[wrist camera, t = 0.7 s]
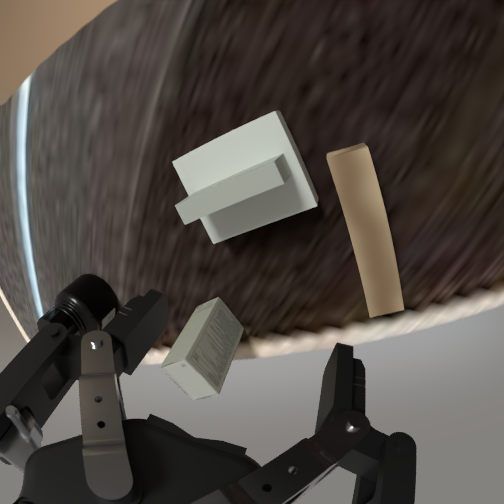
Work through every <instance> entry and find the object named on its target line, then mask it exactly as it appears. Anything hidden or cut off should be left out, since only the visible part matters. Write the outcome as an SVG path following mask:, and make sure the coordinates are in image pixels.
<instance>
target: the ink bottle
mask: <svg viewBox="0 0 504 504" xmlns="http://www.w3.org/2000/svg"><path fill="white" fill-rule="evenodd" d="M117 311H118V305H117V301H116V298H115V296H114V294H113V292H112V290H111V289H110V287H109V286H108V285H107V284H106V283H105V282H104V281H103V280H102V279H101V278H99V277H97V276H95V275H92V274H84V275H81V276H80V277H79V278H77V279H76V280H75V281H74V282H72V283H71V284H70V285H69V286H67V287H66V288H65V289H64V290H62V291H61V292H60V293H59V294H58V295H57V297H56V299H55V307H53V308H52V309H50V310H49V311H48V312H47V313H46V314H44V315H43V316H42V317H41V318H40V319H39V321H38V322H37V325H38V330H39V331H40V330H41V329H42V328H43V327H44V326H46V325H48V324H50V323H60V324H62V325H64V326H65V327H66V329H67V332H68V334H72V335H78V336H84V335H85V334H87V333H88V332H91V331H95V330H100V331H101V330H102V329H103V328H104V327H105V326H106V325H107V324H108V323H109V322H110V321H111V320H112V318H113V317H114V316H115V315H116V314H117Z"/></svg>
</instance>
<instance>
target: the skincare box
mask: <svg viewBox="0 0 504 504" xmlns="http://www.w3.org/2000/svg"><path fill="white" fill-rule="evenodd" d="M243 331H244V328H243V327H242V325H241V324H240V323H239V321H238V320H237V319H236V317H235V316H234V315H233V314H232V312H231V311H230V310H229V308H228V307H227V306H226V305H225V303H224V302H223V301H222V300H221V298H220V297H217V298H215V299H213V300H210V301H208V302H206V303H204V304H202V305H200V306H198V307H197V308H196V309H195V311H194V313H193V314H192V316H191V317H190V319H189V321H188V322H187V324H186V326H185V327H184V329H183V330H182V332H181V334H180V335H179V337H178V339H177V340H176V342H175V343H174V345H173V347H172V348H171V350H170V352H169V353H168V355H167V357H166V358H165V360H164V362H163V364H162V365H161V369H162V370H163V371H164V372H165V373H166V374H167V375H168V376H169V378H170V379H171V380H172V381H173V382H174V383H175V384H176V385H177V386H179V387H180V388H181V389H182V390H183V391H184V392H185V393H186V394H187V395H188V396H189V397H190V398H191V399H192V400H198V399H204V398H209V397H213V396H218V395H219V393H220V391H221V388H222V385H223V382H224V380H225V378H226V375H227V372H228V370H229V367H230V365H231V362H232V360H233V357H234V354H235V352H236V349H237V347H238V344H239V341H240V339H241V336H242V333H243Z"/></svg>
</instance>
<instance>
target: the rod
mask: <svg viewBox="0 0 504 504" xmlns="http://www.w3.org/2000/svg"><path fill="white" fill-rule="evenodd" d="M327 161H328V164H329V167H330V170H331V173H332V176H333V180H334V183H335V186H336V189H337V192H338V196H339V199H340V202H341V205H342V209H343V212H344V216H345V219H346V223H347V226H348V230H349V233H350V237H351V241H352V244H353V248H354V252H355V256H356V260H357V263H358V267H359V271H360V276H361V280H362V284H363V288H364V292H365V297H366V301H367V306H368V310H369V315H370V318H371V317H375V316H380V315H384V314H388V313H393V312H397V311H401V310H404V306H403V299H402V293H401V286H400V280H399V274H398V269H397V263H396V258H395V253H394V248H393V243H392V238H391V233H390V229H389V224H388V220H387V215H386V211H385V207H384V203H383V199H382V195H381V191H380V187H379V184H378V180H377V176H376V173H375V169H374V166H373V162H372V159H371V156H370V152H369V149H368V147H367V146H366V145H365V144H364V143H362V144H358V145H355V146H351V147H348V148H344V149H341V150H337V151H334V152H330V153H327Z"/></svg>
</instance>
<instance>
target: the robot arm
mask: <svg viewBox="0 0 504 504" xmlns="http://www.w3.org/2000/svg"><path fill="white" fill-rule="evenodd" d="M167 321H168V295H167V294H166V293H164V292H161V291H158V290H155V289H151V290H150V291H149V292H148V293H147V294H146V295H145V296H144V297H143V296H140V295H139V296H137V297H135V298H133V299H131V300H130V301H129V302H128V303H127V304H126V305H125V306H124V308H122V309H121V310H120V311H119V313H117V314H116V315H115V316H114V317H113V318H112V320H111V321H110V322H109V323H108V324H107V325H106V326H105V327H104V328H103V329H102V330H101V331H100V330H95V331H91V332H88V333H87V334H85V335H84V336H78V335H72V334H68V332H67V329H66V327H65V326H64V325H62V324H60V323H50V324H48V325H46V326H44V327H43V328H42V329H41V330H40V331H39V332H38V333H37V334H36V335H35V336H34V337H33V338H32V339H31V341H30V342H29V343H28V344H27V345H26V346H25V347H24V348H23V349H22V350H21V351H20V352H19V353H18V355H16V357H15V358H14V359H13V360H12V361H11V362H10V363H9V364H8V365H7V367H6V368H5V369H4V370H3V371H2V372H1V373H0V460H1V461H2V462H4V463H5V464H9V465H13V466H15V467H16V468H18V469H19V470H20V471H21V472H23V473H24V480H23V486H22V490H21V493H20V495H19V498H18V499H17V500H16V501H15V502H14V503H13V504H293V503H294V502H296V501H297V500H298V499H300V498H301V497H302V496H303V495H305V494H306V493H307V492H308V491H309V490H310V489H312V488H313V487H314V486H315V485H317V484H318V483H319V482H320V481H322V480H323V479H324V478H325V477H326V476H328V475H329V474H330V473H331V472H332V471H333V470H335V469H336V468H337V467H338V466H340V467H342V468H344V469H346V470H348V471H350V472H352V473H354V474H357V478H356V483H355V489H354V494H353V500H352V504H414V501H415V484H416V444H415V441H414V440H413V438H412V437H410V436H409V435H408V434H406V433H403V432H396V433H393V434H391V435H390V436H388V435H386V434H384V433H381V432H379V431H377V430H375V429H374V428H373V427H371V425H370V422H369V420H368V418H367V417H366V416H365V367H364V365H363V363H362V361H361V360H360V359H355V358H353V346H350V345H345V344H341V343H336V345H335V347H334V350H333V352H332V354H331V356H330V359H329V361H328V363H327V365H326V368H325V371H324V375H323V380H322V388H321V395H320V402H319V409H318V416H317V422H316V429H315V435H313V436H312V437H311V438H309V439H307V438H305V439H303V440H301V441H300V442H298V443H297V444H295V445H294V446H292V447H291V448H289V449H288V450H287V451H285V452H284V453H282V454H281V455H279V456H278V457H276V458H274V459H273V460H271V461H270V462H268V463H267V464H265V465H264V466H262V467H261V466H260V465H259V464H258V463H257V462H256V461H255V460H253V459H252V458H250V457H249V456H247V455H245V452H246V449H247V448H244V447H241V446H237V445H234V444H231V443H227V442H224V441H219V440H210V439H201V438H195V437H193V436H191V435H190V434H188V433H186V432H185V431H184V430H182V429H181V428H179V427H178V426H176V425H175V424H173V423H171V422H168V421H166V420H164V419H161V418H159V417H157V416H154V415H152V414H150V415H149V417H148V419H147V420H146V419H127V418H126V414H125V409H124V403H123V397H122V392H121V385H120V379H119V377H120V375H121V374H122V373H123V372H124V373H126V374H128V375H131V374H132V373H133V372H134V370H135V369H136V368H137V366H138V365H139V363H140V362H141V361H142V359H143V358H144V357H145V355H146V354H147V352H148V351H149V350H150V348H151V347H152V346H153V344H154V343H155V342H156V340H157V339H158V338H159V336H160V335H161V333H162V332H163V331H164V329H165V327H166V325H167ZM76 380H79V397H80V414H81V425H82V435H79V436H76V437H73V438H70V439H67V440H63V441H60V442H57V443H53V444H50V445H46V446H43V447H41V441H42V438H43V433H42V430H41V428H42V427H43V425H44V424H45V422H46V421H47V420H48V418H49V416H50V415H51V414H52V412H53V411H54V410H55V408H56V407H57V405H58V404H59V403H60V401H61V400H62V398H63V397H64V396H65V394H66V393H67V392H68V390H69V389H70V387H71V386H72V384H73V383H74V382H75V381H76Z"/></svg>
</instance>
